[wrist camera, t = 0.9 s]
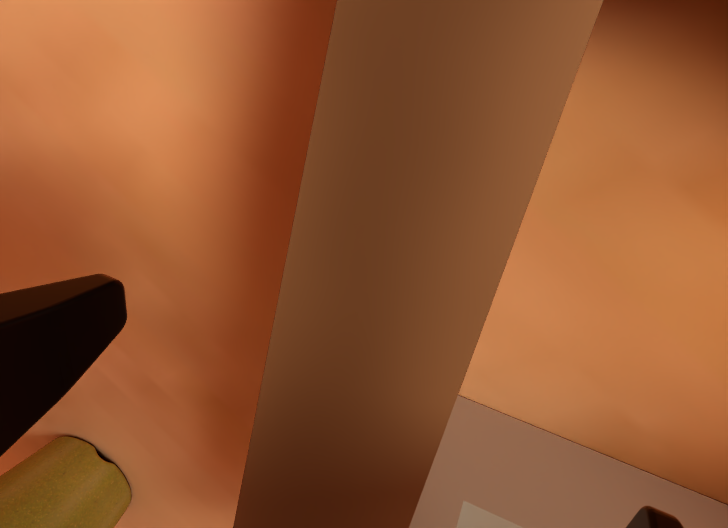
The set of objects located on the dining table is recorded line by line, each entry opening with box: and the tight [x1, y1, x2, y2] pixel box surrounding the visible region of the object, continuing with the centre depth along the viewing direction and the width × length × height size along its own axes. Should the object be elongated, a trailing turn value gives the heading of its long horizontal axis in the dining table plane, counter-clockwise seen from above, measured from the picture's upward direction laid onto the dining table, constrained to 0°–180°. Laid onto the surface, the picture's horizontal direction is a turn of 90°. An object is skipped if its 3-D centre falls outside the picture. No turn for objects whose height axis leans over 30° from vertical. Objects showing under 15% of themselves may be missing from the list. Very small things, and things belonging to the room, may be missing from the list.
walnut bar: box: [233, 0, 603, 528], centre depth 10 cm, size 4×28×3 cm, turn 171°
